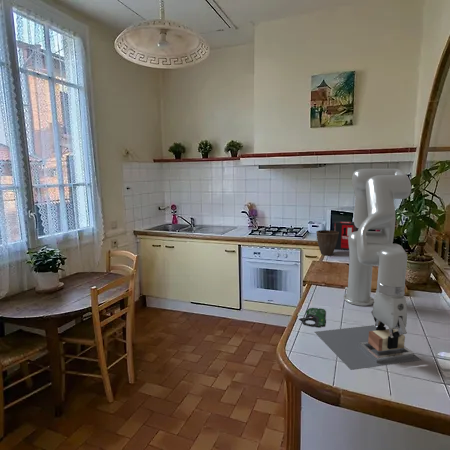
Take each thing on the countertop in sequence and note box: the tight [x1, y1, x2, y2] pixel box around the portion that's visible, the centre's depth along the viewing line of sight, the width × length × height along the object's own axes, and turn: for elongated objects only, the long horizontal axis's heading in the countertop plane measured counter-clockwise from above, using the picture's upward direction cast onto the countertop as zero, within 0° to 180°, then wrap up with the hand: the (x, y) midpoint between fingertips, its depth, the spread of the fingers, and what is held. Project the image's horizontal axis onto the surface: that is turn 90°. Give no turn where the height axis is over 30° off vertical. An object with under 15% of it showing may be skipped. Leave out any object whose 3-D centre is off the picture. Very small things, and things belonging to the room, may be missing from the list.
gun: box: [298, 307, 327, 328], centre depth 127 cm, size 16×1×10 cm
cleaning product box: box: [334, 220, 359, 251], centre depth 239 cm, size 16×9×20 cm, turn 73°
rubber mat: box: [314, 324, 422, 371], centre depth 107 cm, size 23×24×1 cm
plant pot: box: [316, 229, 339, 257], centre depth 224 cm, size 15×15×16 cm
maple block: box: [368, 328, 406, 351], centre depth 101 cm, size 9×5×4 cm, turn 101°
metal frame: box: [359, 342, 415, 363], centre depth 102 cm, size 9×13×2 cm
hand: (386, 342), depth 102 cm, fingers closed on maple block, 4 cm apart
